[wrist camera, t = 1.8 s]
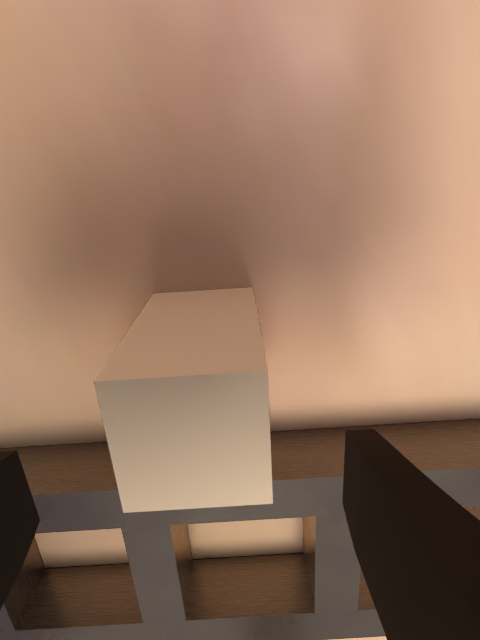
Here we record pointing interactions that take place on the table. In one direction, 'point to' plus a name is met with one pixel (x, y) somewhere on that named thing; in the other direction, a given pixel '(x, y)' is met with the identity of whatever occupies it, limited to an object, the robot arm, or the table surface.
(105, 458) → the grey metal slotted frame
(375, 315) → the table surface
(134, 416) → the peg
